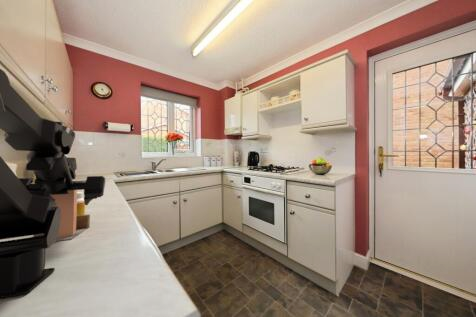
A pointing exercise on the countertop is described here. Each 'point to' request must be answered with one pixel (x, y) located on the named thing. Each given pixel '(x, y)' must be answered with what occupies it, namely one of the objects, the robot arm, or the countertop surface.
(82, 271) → the countertop surface
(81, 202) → the supplement bottle
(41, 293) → the countertop surface
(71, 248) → the countertop surface
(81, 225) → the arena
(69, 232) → the terracotta block
